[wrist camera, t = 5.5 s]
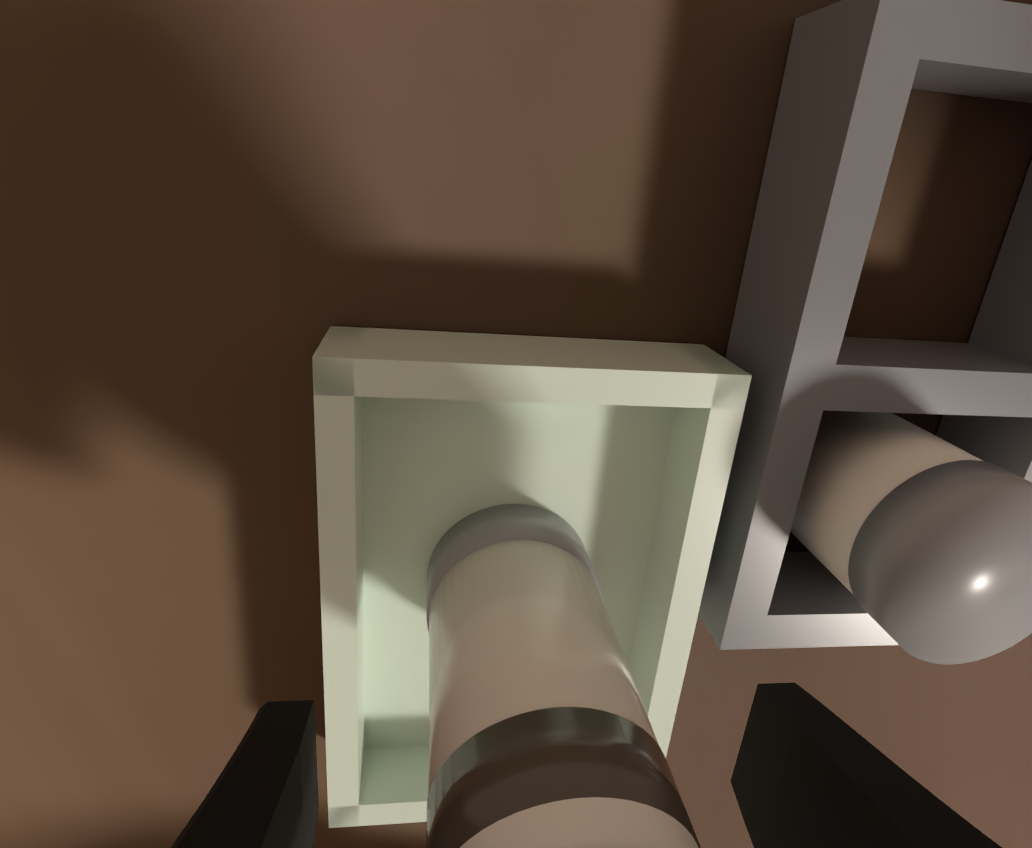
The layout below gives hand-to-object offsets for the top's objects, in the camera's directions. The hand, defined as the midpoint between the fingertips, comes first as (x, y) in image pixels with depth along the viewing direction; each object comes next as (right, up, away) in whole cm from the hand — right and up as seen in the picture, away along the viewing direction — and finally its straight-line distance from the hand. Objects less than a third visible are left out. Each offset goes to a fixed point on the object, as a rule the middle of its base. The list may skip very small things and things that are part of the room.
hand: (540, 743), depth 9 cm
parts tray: (-1, +2, +4) cm, 5 cm away
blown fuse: (0, +2, +4) cm, 4 cm away
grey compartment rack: (+7, +6, +3) cm, 10 cm away
